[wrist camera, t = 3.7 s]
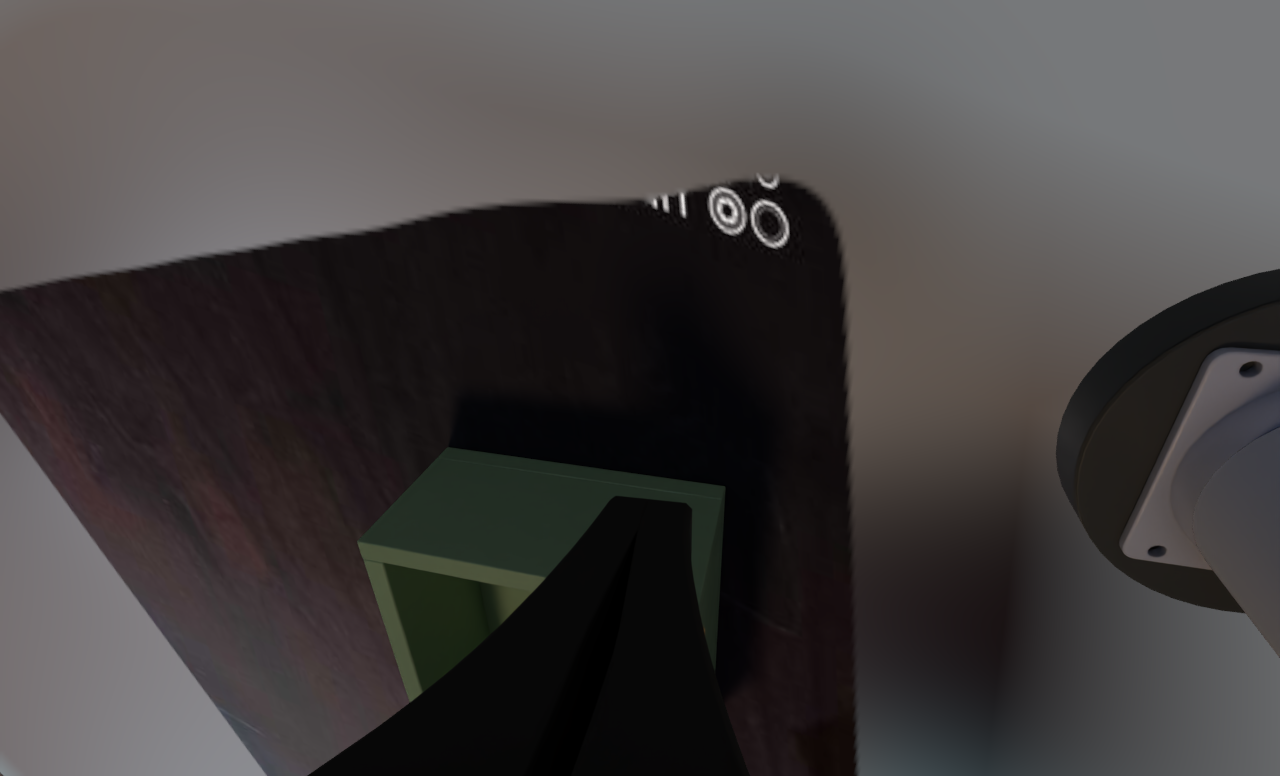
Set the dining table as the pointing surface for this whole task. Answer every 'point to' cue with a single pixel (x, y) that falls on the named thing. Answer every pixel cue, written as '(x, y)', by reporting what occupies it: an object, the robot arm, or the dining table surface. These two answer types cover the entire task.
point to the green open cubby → (504, 548)
